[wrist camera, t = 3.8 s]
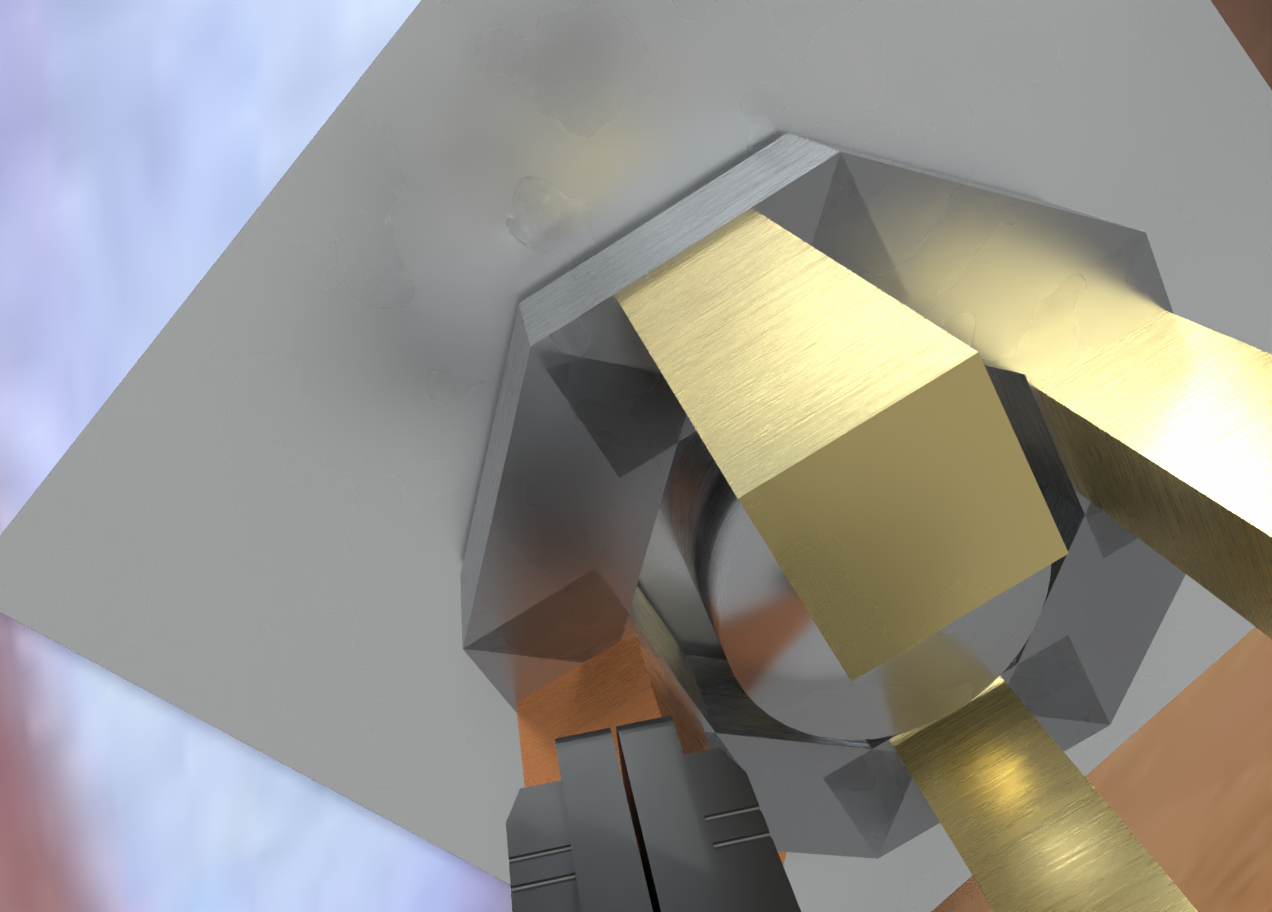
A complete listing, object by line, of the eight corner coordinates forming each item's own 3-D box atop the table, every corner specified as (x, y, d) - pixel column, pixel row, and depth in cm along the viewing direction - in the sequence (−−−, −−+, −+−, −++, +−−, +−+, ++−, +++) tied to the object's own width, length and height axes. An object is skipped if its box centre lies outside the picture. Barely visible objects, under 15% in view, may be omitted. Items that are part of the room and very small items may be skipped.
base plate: (820, -504, 15) (987, -733, 10) (1452, 401, 23) (1695, 495, 19) (-20, 561, 19) (-165, 734, 14) (779, 1001, 27) (845, 1197, 23)
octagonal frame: (568, 74, 16) (706, 144, 8) (1228, 250, 19) (1835, 434, 11) (425, 735, 20) (413, 1240, 12) (981, 788, 24) (1276, 1214, 15)
